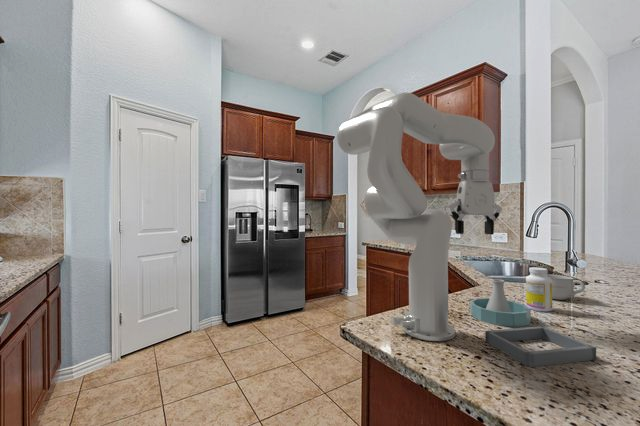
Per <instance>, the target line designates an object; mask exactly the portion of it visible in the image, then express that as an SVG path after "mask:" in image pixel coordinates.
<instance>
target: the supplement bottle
mask: <svg viewBox="0 0 640 426" xmlns="http://www.w3.org/2000/svg"><path fill="white" fill-rule="evenodd" d="M528 271H529V275H526V277H525V297H526V298H525V299H526V300H525V302H526V304H525V305H526V306H527V307H528V308H529V309H530V310H532V311H536V312H544V313H545V312H552V311H553V299H552V280H551V279H550V278H549V277H547V274H548V271H549V270H548V268H544V267H535V266H532V267H529V269H528Z"/></svg>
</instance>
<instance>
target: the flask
mask: <svg viewBox="0 0 640 426" xmlns="http://www.w3.org/2000/svg"><path fill="white" fill-rule="evenodd" d="M491 282H492V283H493V284H492V291H491V295H490V297H489V298H490V299H489V302H488V304H487V307H486V309H489V310H494V311H500V312H511V310H510V307H509V305H508V302H507V299H508V298H507V297H506V294H505V289H504V284H505V280H504V279H501V278H500V279H499V278H498V279H497V278H491ZM511 313H512V312H511Z"/></svg>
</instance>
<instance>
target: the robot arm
mask: <svg viewBox="0 0 640 426" xmlns="http://www.w3.org/2000/svg"><path fill="white" fill-rule="evenodd" d="M404 134H406V135H408V136H410V137H412V138H414V139H416V140H417V141H420V142H421V143H424V144H427V145H439V147H438V148H439V152H440V154H441V156H442V157H443V158H445V159H446V160H448V161H449V160H450V161H461V162H460V167H461V169H460V173H458V174H457V178H458V179H460V182H459V183H458V187H457V191H456V201H454V202H452V203H450V204H448V205H446V209H447V211H448V212H449V215H448V214H447V213H446V212H445V211H443V210H441V209H435V208H427V206H428V202H427V198H426V195H425V193H424V191H423V190H422V188H421V187H420V185H419V184H418V183H417V181H416V180H415V178H414V177H413V175H412V174H411V173H410V171H409V170H408V168H407V167H406V165H405V163H404V162H403V158H402V144H403V143H402V142H403V136H404ZM336 140H337V143H338V146H339V148H340V149H341V150H342V151H343V152H344V153H346V154H348V155H360V154H365V153H368V152H369V154H368V159H367V161H368V162H367V170H366V171H367V172H366V173H367V178H368V180H369V182H370V185H371V186H370V187H369V188H367V190H366V192H365V194H364V198H363V203H364V208H365V210H366V213H367V215H368V216H369V218H370V219H371V220H372V221H373V223H374V224H375V225H376V226H377V227H378V228H379V229H380V230H381V232H382V233H383V234H384V235H385V236H386V237H387V238H388V239H389V240H391V241H392V242H394V243H397V244H405V245H413V246H415V248H414V249H413V251H412V253H411V254H410V256H409V259H408V311H405V314H403V315H402V316H391V319H390V321H391V325H392V326H398V325H400V328H402V329H403V332H405V333H406V334H407V335H409V336H410V337H413V338H416V339H419V340H423V341H429V342H444V341H446V342H447V341H449V340H451V339H453V338H455V337H456V329H455V328H454V327H453V326H452V325H450V324H449V270H448V269H449V267H448V266H449V263H448V262H449V247H450V241H451V237H452V230H453V226H452V225H453V224H452V220H451V218H452V219H453V221H454V230H455V231H454V232H455V234H456V235H463V234H464V233H465V231H464V229H465V224H464V223H465V221H464V219H463V218H465V216H466V215H467V216H470V215H471V216H483V218H484V219H485V221H484V234H485V235H494V234H495V222H496V221H497V219H498V217H499V216H500V214H501V212H502V210H503V207H502V206H500V205H498V204H497V203H495V202H496V201H495V192H494V188H493V183H492V181H490V153H491V151H492V150H493V149H494V147H495V143H496V138H495V135H494V133H493V130H492V129H491V128H490V127H489V126H488V125H487V124H486V123H484V121H481V120H480V119H478V118H476V117H472V116H467V115H461V114H455V113H446V112H445V113H444V112H441V111H439V110H438V109H437V108H435V107H434V106H432V105H431V104H429V103H427V101H425V100H423V99H422V98H420V97H419V96H418V95H415V94H414V93H411V92H401V93H399V94H398V93H397V94H395V95H393V96H390V97H388V98H386V99H384V100H381V101H379V102H377V103H375V104H373V105H371V106H369V107H368V108H366V109H364V110H363V111H361V112H360V113H358V114H356V115H354V116H353V117H351V118H349V119H347V120H345V121H344V122H342V123H341V125H340V126H339V128H338V130H337V135H336ZM455 208H456V209H455ZM450 217H451V218H450Z"/></svg>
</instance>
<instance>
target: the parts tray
mask: <svg viewBox="0 0 640 426" xmlns="http://www.w3.org/2000/svg"><path fill="white" fill-rule="evenodd" d="M484 334H485V337H484V338H485V340H484V342H486V343H487V344H489V345H490V346H492V347H494V348H496V349H498V350H499V351H502V352H503V353H504V354H506V355H508V356H510V357H512V358H513V359H515V360H517V361H518V362H520V363H521V364H523V365H524V366H527V367H529V368H535V367H536V368H537V367H544V366H545V367H546V366H552V365H561V364H569V363H577V362H578V363H579V362H580V363H581V362H587V361H595V360H597V347H596V346H594V345H591V344H589V343H586V342H583V341H581V340H578V339H575V338H573V337H571V336H568V335H566V334H564V333H562V332H558V331H556V330H553V329H551V328H549V327H547V326H543V325H539V326H529V327H527V326H526V327H518V328H517V327H516V328H514V327H513V328H505V329H494V330H485V332H484ZM538 339H540V340H541V339H544V340H547V341H549V342H551V343H553V344H556V345H558V346H559V347H562V348H553V349H542V350H534V351H533V350H532V351H529V350H527V349H525V348H523V347H521V346H519V345H517V344H515V343H514V342H517V341H527V340H528V341H529V340H538Z"/></svg>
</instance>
